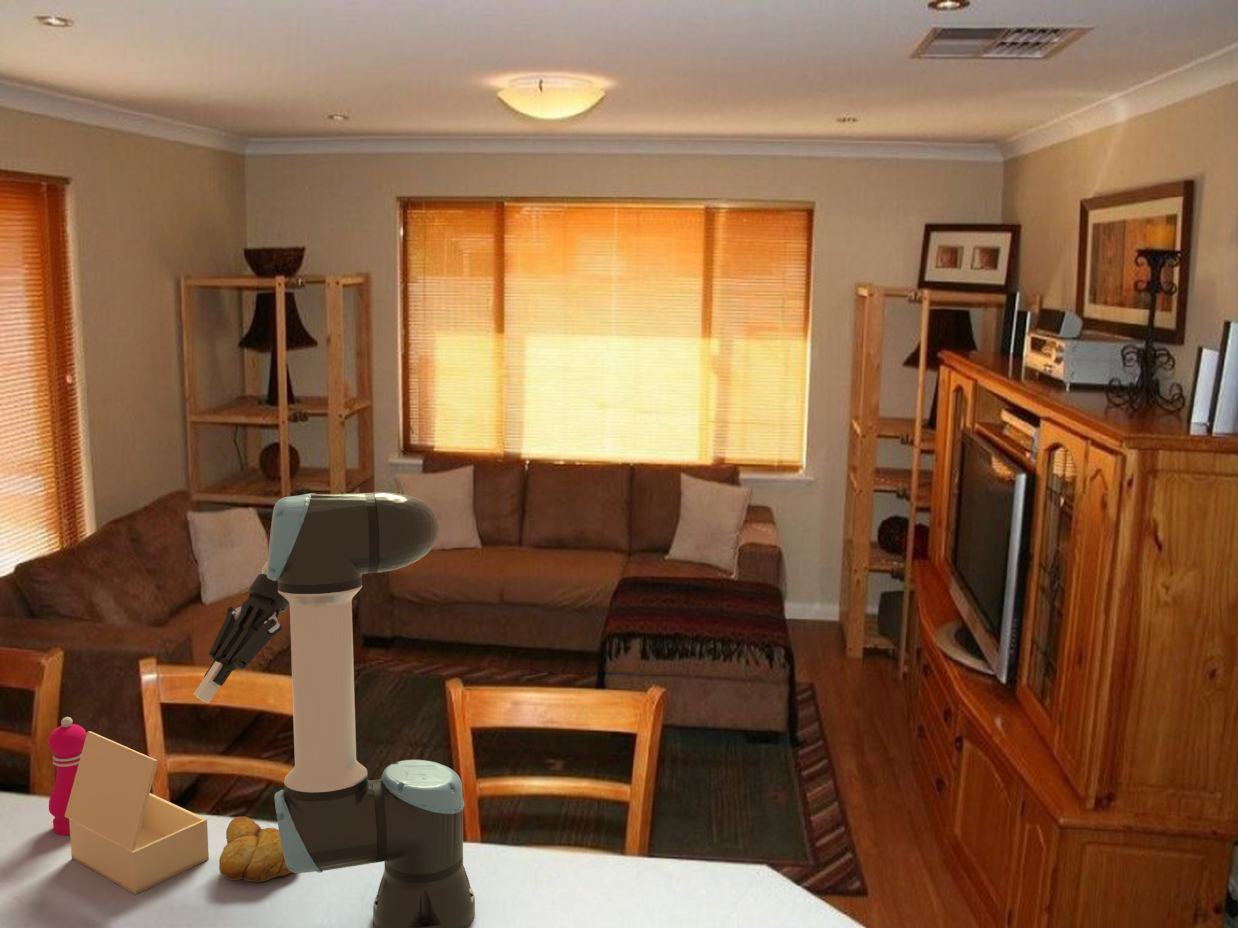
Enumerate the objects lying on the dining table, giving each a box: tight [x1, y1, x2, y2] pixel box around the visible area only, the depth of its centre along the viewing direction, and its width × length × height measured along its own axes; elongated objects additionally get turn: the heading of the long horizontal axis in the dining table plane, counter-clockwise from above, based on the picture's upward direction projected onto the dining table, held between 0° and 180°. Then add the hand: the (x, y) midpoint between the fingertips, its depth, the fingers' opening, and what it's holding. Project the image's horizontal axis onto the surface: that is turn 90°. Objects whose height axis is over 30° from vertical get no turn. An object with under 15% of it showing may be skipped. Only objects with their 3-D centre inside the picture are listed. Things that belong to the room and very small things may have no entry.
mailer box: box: [69, 792, 210, 895], centre depth 177 cm, size 18×13×7 cm
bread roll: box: [218, 815, 293, 882], centre depth 174 cm, size 13×10×8 cm
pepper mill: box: [47, 716, 87, 836], centre depth 186 cm, size 7×7×20 cm
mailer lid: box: [65, 730, 159, 851], centre depth 172 cm, size 19×14×1 cm
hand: (201, 698), depth 185 cm, fingers closed
